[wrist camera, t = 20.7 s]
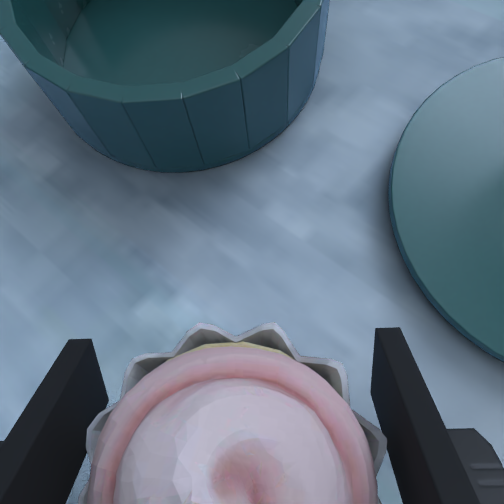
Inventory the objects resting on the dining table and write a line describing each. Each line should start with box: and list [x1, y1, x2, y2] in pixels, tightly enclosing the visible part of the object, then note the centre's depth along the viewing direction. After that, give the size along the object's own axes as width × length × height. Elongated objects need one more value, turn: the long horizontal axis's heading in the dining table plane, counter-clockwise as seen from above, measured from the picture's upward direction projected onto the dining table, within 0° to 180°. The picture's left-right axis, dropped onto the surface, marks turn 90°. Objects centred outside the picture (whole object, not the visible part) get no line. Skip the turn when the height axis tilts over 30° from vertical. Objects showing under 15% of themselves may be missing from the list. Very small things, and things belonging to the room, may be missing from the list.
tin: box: [0, 0, 330, 172], centre depth 21 cm, size 15×15×6 cm
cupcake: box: [78, 322, 387, 504], centre depth 13 cm, size 9×9×10 cm
